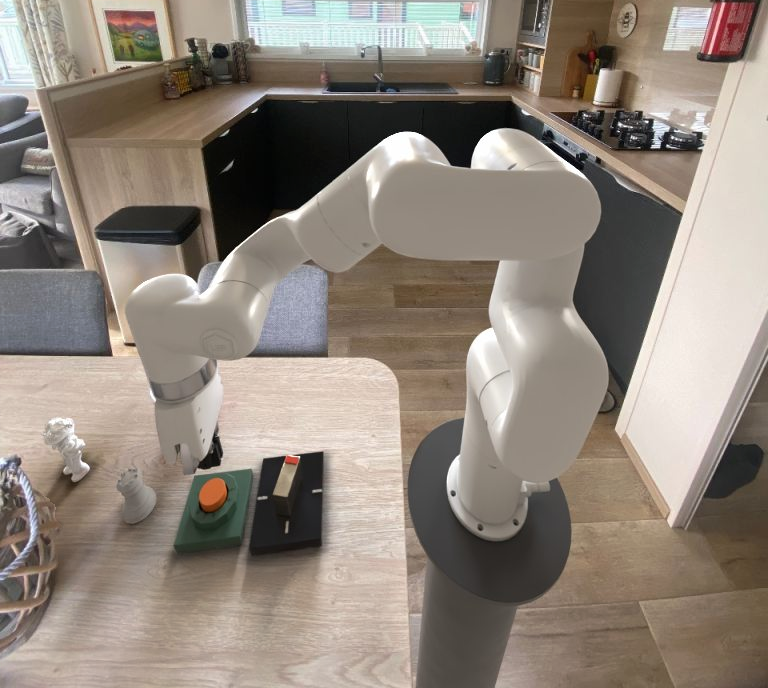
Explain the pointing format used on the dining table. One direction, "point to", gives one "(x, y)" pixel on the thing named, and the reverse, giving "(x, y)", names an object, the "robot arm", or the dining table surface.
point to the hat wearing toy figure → (66, 446)
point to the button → (213, 495)
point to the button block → (215, 514)
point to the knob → (287, 486)
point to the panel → (306, 515)
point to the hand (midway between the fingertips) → (210, 461)
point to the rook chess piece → (135, 495)
